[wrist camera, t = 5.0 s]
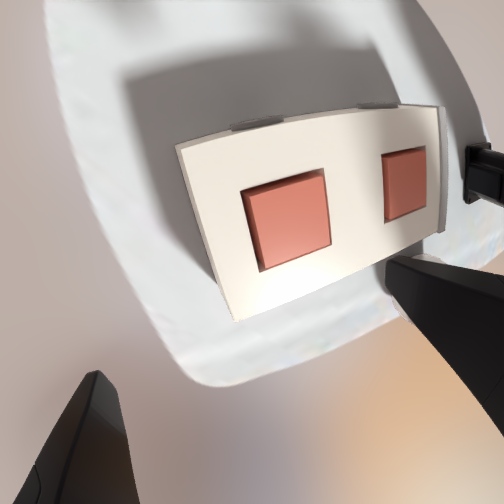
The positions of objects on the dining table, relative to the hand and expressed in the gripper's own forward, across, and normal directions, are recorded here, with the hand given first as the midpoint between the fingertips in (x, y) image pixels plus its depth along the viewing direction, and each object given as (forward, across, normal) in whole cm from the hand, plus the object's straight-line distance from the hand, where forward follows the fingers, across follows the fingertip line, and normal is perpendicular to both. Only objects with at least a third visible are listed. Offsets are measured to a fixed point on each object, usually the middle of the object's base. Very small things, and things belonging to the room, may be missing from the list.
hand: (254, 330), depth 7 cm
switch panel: (+10, -8, 0) cm, 13 cm away
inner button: (+7, -12, 0) cm, 14 cm away
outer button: (+7, -4, 0) cm, 8 cm away
